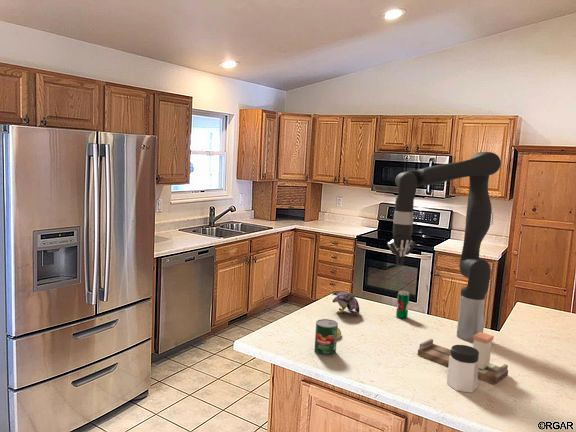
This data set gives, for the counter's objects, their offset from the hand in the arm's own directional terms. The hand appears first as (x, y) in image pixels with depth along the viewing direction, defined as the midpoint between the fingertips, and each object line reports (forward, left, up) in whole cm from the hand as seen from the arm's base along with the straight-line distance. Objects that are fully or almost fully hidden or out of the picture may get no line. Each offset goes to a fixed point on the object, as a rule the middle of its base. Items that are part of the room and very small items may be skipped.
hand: (399, 265), depth 180 cm
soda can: (-16, -16, -29) cm, 37 cm away
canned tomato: (+36, +7, -29) cm, 47 cm away
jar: (+6, +43, -29) cm, 52 cm away
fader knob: (-7, +37, -26) cm, 46 cm away
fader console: (-5, +31, -29) cm, 43 cm away
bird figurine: (+7, -27, -29) cm, 40 cm away
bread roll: (+27, -6, -29) cm, 40 cm away
